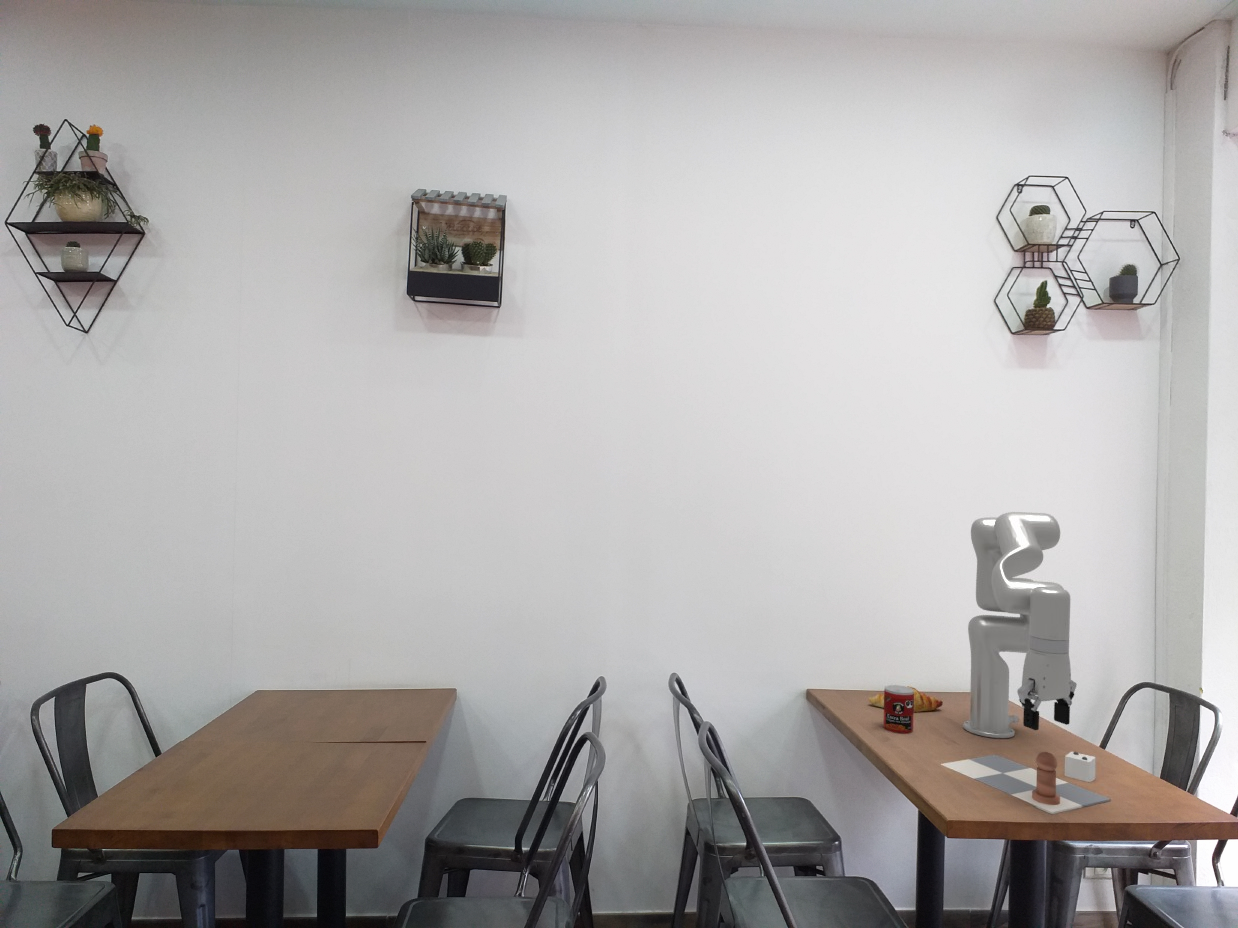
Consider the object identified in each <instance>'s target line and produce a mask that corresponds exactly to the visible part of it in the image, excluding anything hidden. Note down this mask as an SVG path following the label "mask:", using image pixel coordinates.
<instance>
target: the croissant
mask: <svg viewBox="0 0 1238 928" xmlns="http://www.w3.org/2000/svg"><path fill="white" fill-rule="evenodd" d="M906 687H909V688H911V689H913V690H914V713H920V712H930V711H931V712H932V711H935V710H937V709H939V708H940V707H942V706H943V703H944V701H943V700H942V699H937V698H935V697H934V696H930V695H927V694H925V693H924V692H920V691H919V690H918V689H917V688H915V687H912V686H909V685H908V686H906ZM868 702H869V703H870V704H871V705H873V706H874V707H879V708H881V709H884V693H878V694H876V695H875V696H869V698H868Z"/></svg>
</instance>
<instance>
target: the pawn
mask: <svg viewBox="0 0 1238 928" xmlns="http://www.w3.org/2000/svg"><path fill="white" fill-rule="evenodd" d="M1035 763H1036V770H1037V784H1036V789H1035V790H1033V791H1032V798H1033V799H1034V800H1035V801H1037V802H1040V803H1043V804H1048V805H1058V804H1060V796H1059V795H1058V794H1056V778H1057V770H1056V769H1057V767H1058V760H1057V758H1056V756H1055V755H1054V754H1052V753H1050V752H1048V751H1042V752H1041V751H1040V752H1039V753H1038V754H1037V755H1036V758H1035Z"/></svg>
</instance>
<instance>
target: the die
mask: <svg viewBox="0 0 1238 928" xmlns="http://www.w3.org/2000/svg"><path fill="white" fill-rule="evenodd" d="M1064 777H1068V778H1071V779H1074V780H1078V781H1079V780H1080V781H1082V782H1086V783H1090V782H1091V783H1092V782H1093V781H1094V780H1096V756H1092V755H1087V754H1083V753H1079V752H1078V751H1070V752H1069V753H1067V754H1065V756H1064Z"/></svg>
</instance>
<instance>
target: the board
mask: <svg viewBox="0 0 1238 928" xmlns="http://www.w3.org/2000/svg"><path fill="white" fill-rule="evenodd" d="M939 765H940V766H943V767H945V768H948V769H950V770H951V771H955V772H957V773H959V774H961V775H964V776H966V777H968V778H971V779H974V780H976V781H978V782H981V783H982V784H984V785H987V786H989V787H992V788H994V789H995V790H998V791H1001V792H1003V793H1005V794H1008V795H1010V796H1013V797H1015V798H1017V799H1020V800H1022V801H1024V802H1025V803H1026V802H1027V803H1029V804H1031V805H1032V806H1033V808H1036V809H1039V810H1041V811H1043V812H1045V813H1048V814H1050V815H1055V814H1059V813H1063V812H1068V811H1073V810H1076V809H1081V808H1085V807H1091V806H1094V805H1098V804H1102V803H1107V802H1112V801H1111V800H1112V799H1111V798H1109V797H1107V796H1104V795H1103V794H1100V793H1096V792H1095V791H1091V790H1089V789H1086V788H1083V787H1081V786H1079V785H1077V784H1073V783H1070V782H1068V781H1065V780H1062V779H1061V778H1058V777H1056V794H1058V795H1059V796H1060V804H1058V805H1048V804H1043V803H1040V802H1037V801H1035V800H1034V799H1033V798H1032V791H1033V790H1035V789H1036V784H1037V769H1034V768H1032V767H1028V766H1026V765H1024V764H1021V763H1019V762H1016V761H1013V760H1011V759H1008V758H1006V757H1003V756H1001V755H998V754H993V755H986V756H979V757H974V758H973V757H972V758H969V759H961V760H956V761H950V762H945V763H940V764H939Z"/></svg>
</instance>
